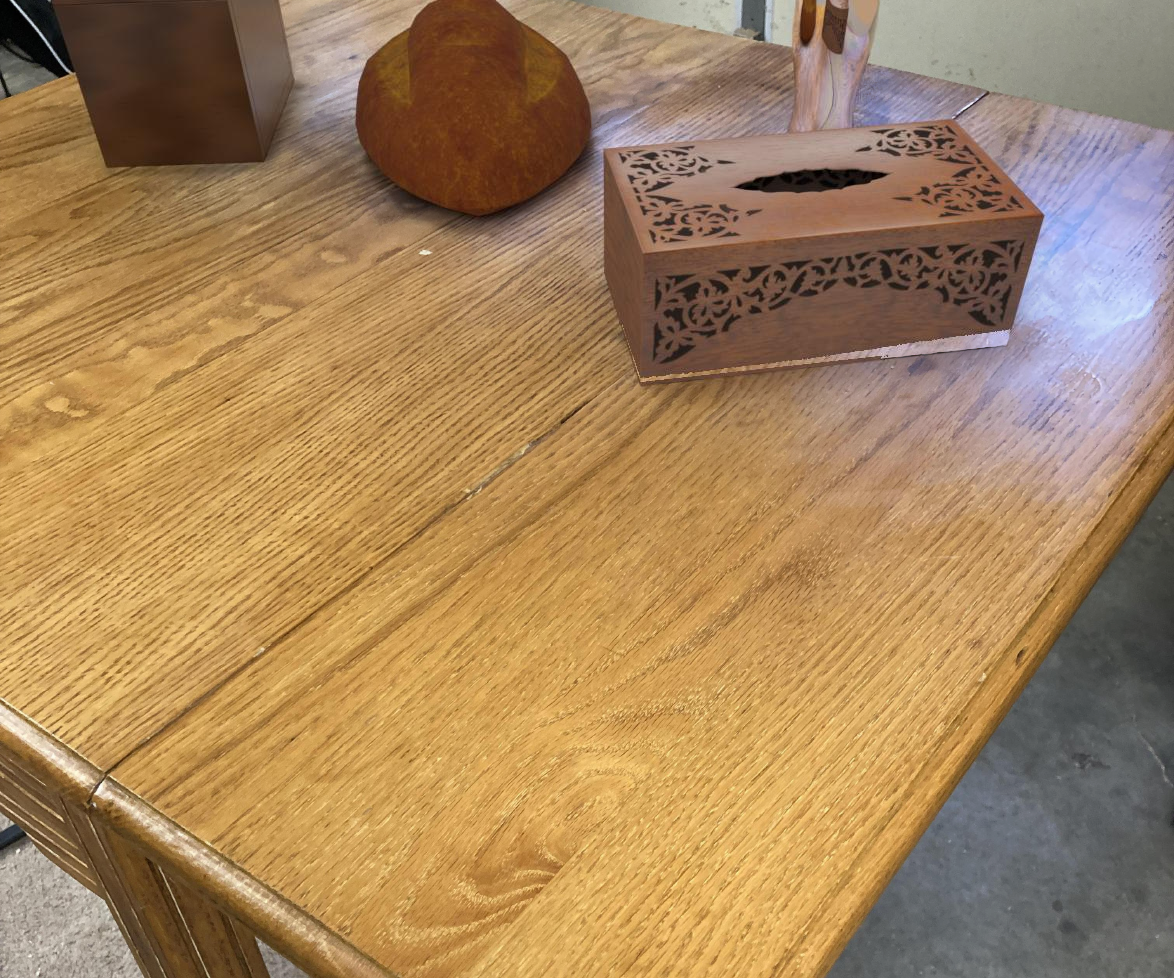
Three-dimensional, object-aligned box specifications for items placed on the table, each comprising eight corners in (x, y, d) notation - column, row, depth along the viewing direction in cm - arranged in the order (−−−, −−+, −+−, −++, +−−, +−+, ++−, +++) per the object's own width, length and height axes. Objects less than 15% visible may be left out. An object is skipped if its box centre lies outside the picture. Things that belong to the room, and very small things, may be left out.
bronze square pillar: (105, 167, 100) (45, -15, 89) (156, 84, 113) (109, -83, 103) (263, 162, 100) (222, -21, 89) (294, 79, 113) (262, -88, 103)
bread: (338, 238, 90) (310, 87, 81) (377, 76, 114) (359, -54, 105) (600, 229, 90) (599, 77, 82) (584, 69, 114) (581, -61, 106)
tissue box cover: (927, 241, 88) (953, 119, 81) (1006, 346, 77) (1044, 215, 70) (604, 272, 85) (603, 148, 78) (640, 385, 74) (643, 253, 68)
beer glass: (766, 132, 103) (783, -41, 92) (833, 120, 104) (857, -51, 94) (803, 164, 98) (826, -15, 88) (873, 150, 99) (902, -26, 89)
